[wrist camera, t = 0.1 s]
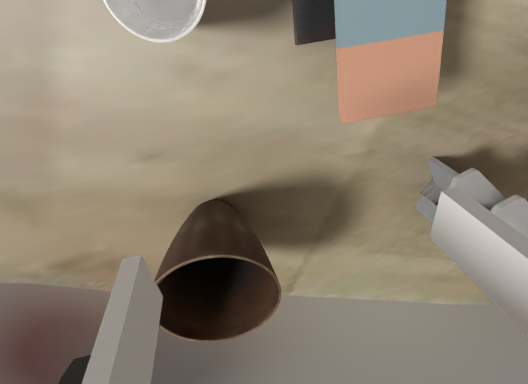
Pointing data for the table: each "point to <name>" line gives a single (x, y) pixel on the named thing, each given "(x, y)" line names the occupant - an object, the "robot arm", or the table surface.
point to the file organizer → (472, 195)
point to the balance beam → (387, 56)
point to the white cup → (157, 17)
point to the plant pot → (216, 277)
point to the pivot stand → (313, 20)
